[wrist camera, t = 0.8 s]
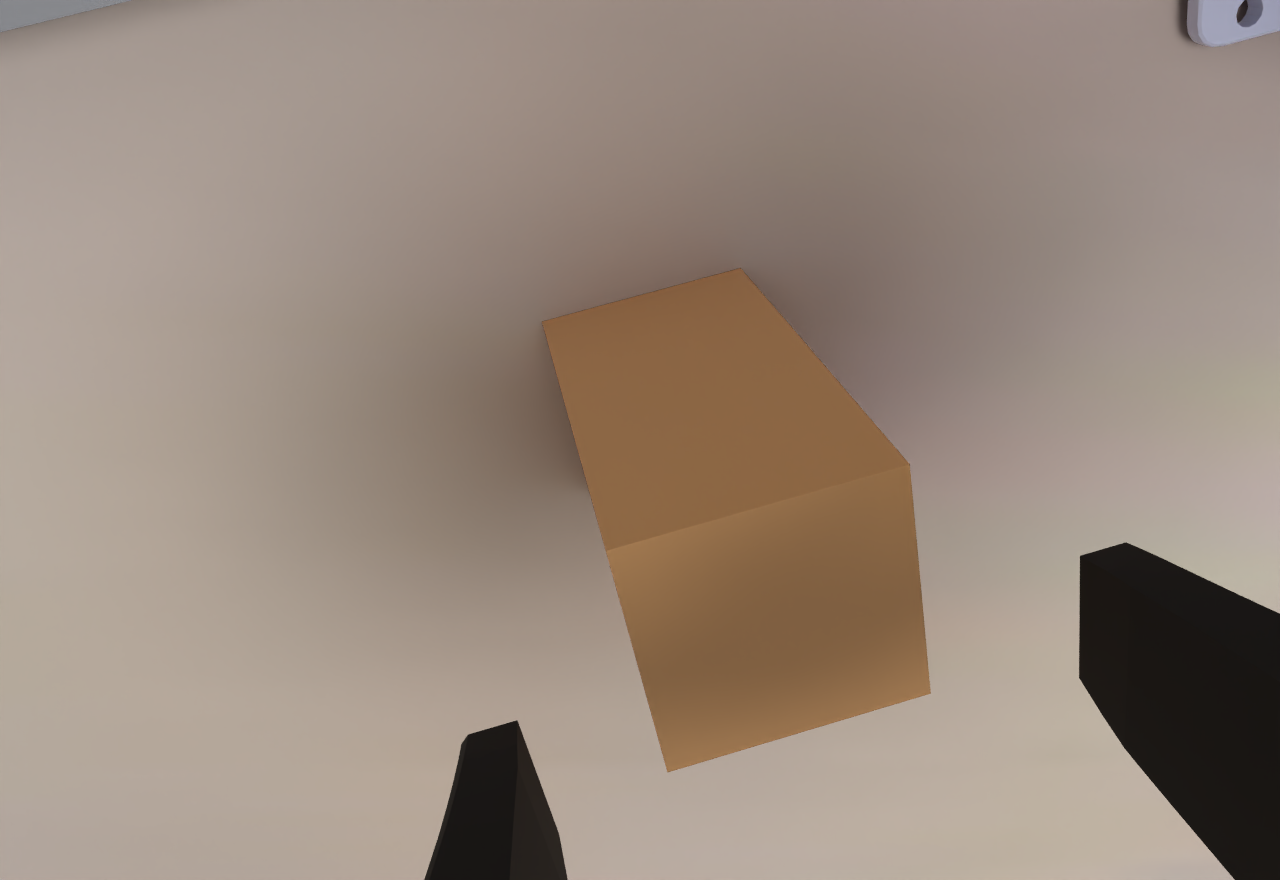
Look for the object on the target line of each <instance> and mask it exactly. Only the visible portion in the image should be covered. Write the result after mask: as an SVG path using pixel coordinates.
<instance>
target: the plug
mask: <svg viewBox="0 0 1280 880" xmlns="http://www.w3.org/2000/svg"><path fill="white" fill-rule="evenodd" d="M542 324H543V327H544V331H545V335H546V338H547V342H548V345H549V349H550V353H551V356H552V360H553V363H554V367H555V371H556V374H557V378H558V381H559V385H560V389H561V392H562V396H563V399H564V403H565V407H566V410H567V414H568V417H569V421H570V425H571V428H572V432H573V435H574V439H575V443H576V446H577V450H578V453H579V457H580V460H581V464H582V468H583V471H584V475H585V478H586V482H587V486H588V489H589V493H590V496H591V500H592V504H593V507H594V511H595V514H596V518H597V521H598V525H599V529H600V532H601V536H602V539H603V543H604V546H605V550H606V554H607V557H608V561H609V564H610V568H611V572H612V575H613V579H614V582H615V586H616V589H617V593H618V597H619V600H620V604H621V607H622V611H623V614H624V618H625V622H626V625H627V629H628V632H629V636H630V639H631V643H632V647H633V650H634V654H635V657H636V661H637V665H638V668H639V672H640V675H641V679H642V682H643V686H644V690H645V693H646V697H647V700H648V704H649V707H650V711H651V715H652V718H653V722H654V725H655V729H656V732H657V736H658V740H659V743H660V747H661V750H662V754H663V758H664V761H665V765H666V768H667V772H670V771H674V770H677V769H680V768H684V767H687V766H690V765H694V764H697V763H700V762H704V761H707V760H711V759H714V758H717V757H721V756H724V755H727V754H731V753H734V752H737V751H741V750H744V749H747V748H751V747H754V746H757V745H761V744H764V743H767V742H771V741H774V740H777V739H781V738H784V737H787V736H791V735H794V734H797V733H801V732H804V731H807V730H811V729H814V728H817V727H821V726H824V725H827V724H831V723H834V722H837V721H841V720H844V719H847V718H851V717H854V716H857V715H861V714H864V713H867V712H871V711H874V710H877V709H881V708H884V707H887V706H891V705H894V704H897V703H901V702H904V701H907V700H911V699H914V698H917V697H921V696H924V695H927V694H931V692H930V681H929V671H928V660H927V649H926V638H925V627H924V616H923V605H922V594H921V583H920V572H919V561H918V550H917V539H916V529H915V518H914V507H913V496H912V485H911V474H910V464H909V463H908V462H907V461H906V460H905V458H904V457H903V456H902V455H901V454H900V453H899V451H898V450H897V449H896V448H895V447H894V446H893V444H892V443H891V442H890V441H889V440H888V439H887V438H886V436H885V435H884V434H883V433H882V432H881V431H880V429H879V428H878V427H877V426H876V425H875V424H874V422H873V421H872V420H871V419H870V418H869V417H868V415H867V414H866V413H865V412H864V411H863V410H862V408H861V407H860V406H859V405H858V404H857V403H856V402H855V400H854V399H853V398H852V397H851V396H850V395H849V393H848V392H847V391H846V390H845V389H844V388H843V386H842V385H841V384H840V383H839V382H838V381H837V379H836V378H835V377H834V376H833V375H832V374H831V373H830V371H829V370H828V369H827V368H826V367H825V366H824V364H823V363H822V362H821V361H820V360H819V359H818V357H817V356H816V355H815V354H814V353H813V352H812V350H811V349H810V348H809V347H808V346H807V345H806V343H805V342H804V341H803V340H802V339H801V338H800V337H799V335H798V334H797V333H796V332H795V331H794V330H793V328H792V327H791V326H790V325H789V324H788V323H787V321H786V320H785V319H784V318H783V317H782V316H781V314H780V313H779V312H778V311H777V310H776V309H775V308H774V306H773V305H772V304H771V303H770V302H769V301H768V299H767V298H766V297H765V296H764V295H763V294H762V292H761V291H760V290H759V289H758V288H757V287H756V285H755V284H754V283H753V282H752V281H751V280H750V278H749V277H748V276H747V275H746V274H745V273H744V272H743V270H742V269H741V268H739V269H735V270H732V271H728V272H724V273H720V274H717V275H713V276H709V277H706V278H702V279H698V280H694V281H691V282H687V283H683V284H680V285H676V286H672V287H668V288H665V289H661V290H657V291H654V292H650V293H646V294H643V295H639V296H635V297H631V298H628V299H624V300H620V301H617V302H613V303H609V304H605V305H602V306H598V307H594V308H591V309H587V310H583V311H579V312H576V313H572V314H568V315H565V316H561V317H557V318H553V319H550V320H546V321H542Z"/></svg>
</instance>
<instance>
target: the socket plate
mask: <svg viewBox="0 0 1280 880" xmlns="http://www.w3.org/2000/svg"><path fill="white" fill-rule="evenodd" d="M127 1H131V0H0V32H3V31H7V30H11V29H16V28H20V27H24V26H28V25H32V24H36V23H40V22H44V21H48V20H53V19H57V18H61V17H65V16H69V15H73V14H77V13H81V12H85V11H90V10H94V9H98V8H102V7H106V6H110V5H114V4H118V3H122V2H127Z"/></svg>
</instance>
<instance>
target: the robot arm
mask: <svg viewBox="0 0 1280 880" xmlns="http://www.w3.org/2000/svg"><path fill="white" fill-rule="evenodd" d="M1243 1H1244V0H1188V10H1187V29H1188V34H1189V36H1190V37H1191V39H1192V40H1193V41H1194V42H1196V43H1198V44H1200V45H1204V46H1209V47H1221V46H1225V45H1228V44H1232V43H1236V42H1240V41H1244V40H1247V39H1251V38H1255V37H1259V36H1263V35H1266V34H1270V33H1274V32H1278V31H1280V0H1247V2H1248V9H1247V12H1246V15H1245V16H1244V18H1243V19H1242V20H1241V21H1240V22H1238V23H1237V17H1236V14H1237V11H1238V8H1239V6H1240V5H1241V4H1242V2H1243ZM1079 678H1080V680H1081V681H1082V683H1083V685H1084V686H1085V688H1086V689H1087V691H1088V693H1089V694H1090V696H1091V697H1092V699H1093V701H1094V702H1095V704H1096V705H1097V707H1098V709H1099V710H1100V712H1101V713H1102V715H1103V717H1104V718H1105V720H1106V721H1107V723H1108V724H1109V726H1110V727H1111V729H1112V730H1113V732H1114V733H1115V735H1116V736H1117V738H1118V739H1119V741H1120V742H1121V744H1122V745H1123V747H1124V748H1125V749H1126V751H1127V752H1128V753H1129V754H1130V755H1131V757H1132V758H1133V759H1134V760H1135V762H1136V763H1137V764H1138V765H1139V766H1140V768H1141V769H1142V770H1143V771H1144V772H1145V774H1146V775H1147V776H1148V777H1149V779H1150V780H1151V781H1152V782H1153V783H1154V785H1155V786H1156V787H1157V788H1158V789H1159V791H1160V792H1161V793H1162V794H1163V795H1164V797H1165V798H1166V799H1167V800H1168V801H1169V803H1170V804H1171V805H1172V806H1173V807H1174V808H1175V810H1176V811H1177V812H1178V813H1179V814H1180V816H1181V817H1182V818H1183V819H1184V820H1185V821H1186V823H1187V824H1188V825H1189V826H1190V827H1191V828H1192V830H1193V831H1194V832H1195V833H1196V834H1197V836H1198V837H1199V838H1200V839H1201V840H1202V841H1203V843H1204V844H1205V845H1206V846H1207V847H1208V849H1209V850H1210V851H1211V852H1212V853H1213V854H1214V856H1215V857H1216V858H1217V859H1218V860H1219V862H1220V863H1221V864H1222V865H1223V866H1224V867H1225V869H1226V870H1227V871H1228V872H1229V873H1230V875H1231V876H1232V877H1233V878H1234V879H1235V880H1280V614H1279V613H1277V612H1275V611H1273V610H1270V609H1268V608H1266V607H1264V606H1262V605H1260V604H1257V603H1255V602H1253V601H1251V600H1249V599H1247V598H1244V597H1242V596H1240V595H1238V594H1236V593H1234V592H1232V591H1230V590H1228V589H1225V588H1223V587H1221V586H1219V585H1217V584H1215V583H1213V582H1211V581H1208V580H1206V579H1204V578H1202V577H1200V576H1198V575H1196V574H1194V573H1192V572H1190V571H1187V570H1185V569H1183V568H1181V567H1179V566H1177V565H1175V564H1173V563H1171V562H1168V561H1166V560H1164V559H1162V558H1160V557H1158V556H1156V555H1153V554H1151V553H1149V552H1147V551H1145V550H1142V549H1140V548H1138V547H1135V546H1133V545H1131V544H1129V543H1123V544H1119V545H1116V546H1112V547H1109V548H1105V549H1102V550H1099V551H1095V552H1092V553H1088V554H1085V555H1081V556H1080V643H1079ZM425 880H567V874H566V869H565V864H564V858H563V853H562V848H561V842H560V837H559V833H558V830H557V827H556V825H555V822H554V819H553V817H552V814H551V811H550V808H549V806H548V803H547V800H546V797H545V795H544V792H543V789H542V787H541V784H540V781H539V778H538V776H537V773H536V770H535V767H534V765H533V762H532V759H531V757H530V754H529V751H528V748H527V746H526V743H525V740H524V737H523V735H522V732H521V729H520V727H519V724H518V721H513V722H510V723H506V724H503V725H500V726H496V727H493V728H489V729H486V730H482V731H479V732H476V733H472V734H469V735H468V736H467V737H466V738H465V740H464V741H463V743H462V744H461V750H460V755H459V760H458V764H457V769H456V773H455V777H454V782H453V786H452V790H451V794H450V797H449V801H448V805H447V809H446V812H445V816H444V819H443V823H442V826H441V830H440V833H439V836H438V840H437V843H436V846H435V849H434V852H433V855H432V858H431V861H430V864H429V867H428V870H427V873H426V876H425Z"/></svg>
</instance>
